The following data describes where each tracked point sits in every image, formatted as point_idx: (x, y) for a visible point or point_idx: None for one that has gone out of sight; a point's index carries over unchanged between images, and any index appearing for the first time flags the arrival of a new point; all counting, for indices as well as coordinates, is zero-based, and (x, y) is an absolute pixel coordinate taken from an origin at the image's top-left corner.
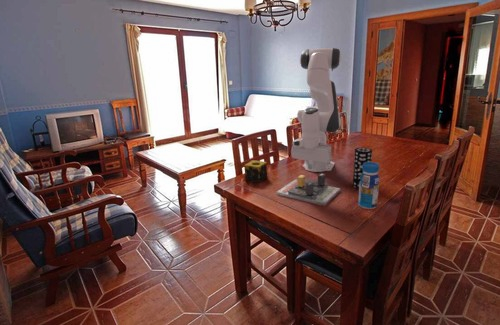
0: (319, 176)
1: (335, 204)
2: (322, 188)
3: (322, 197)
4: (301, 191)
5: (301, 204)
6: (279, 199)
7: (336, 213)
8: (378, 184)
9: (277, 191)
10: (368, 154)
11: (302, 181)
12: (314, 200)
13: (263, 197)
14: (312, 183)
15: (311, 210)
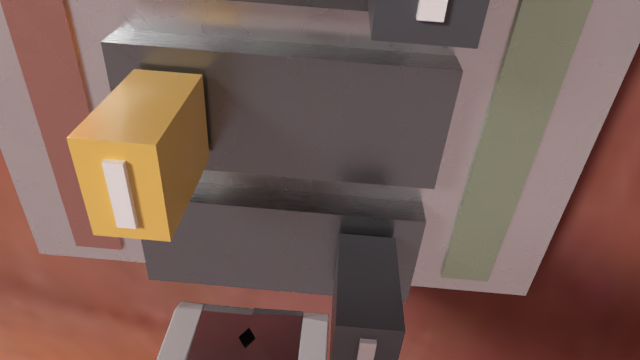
0: (407, 38)
1: (613, 222)
2: None
3: (490, 222)
4: (262, 240)
5: None
6: (141, 293)
7: (616, 332)
8: None
9: (39, 245)
10: None
11: (188, 187)
12: (428, 284)
13: (19, 304)
14: (392, 346)
15: (432, 347)
